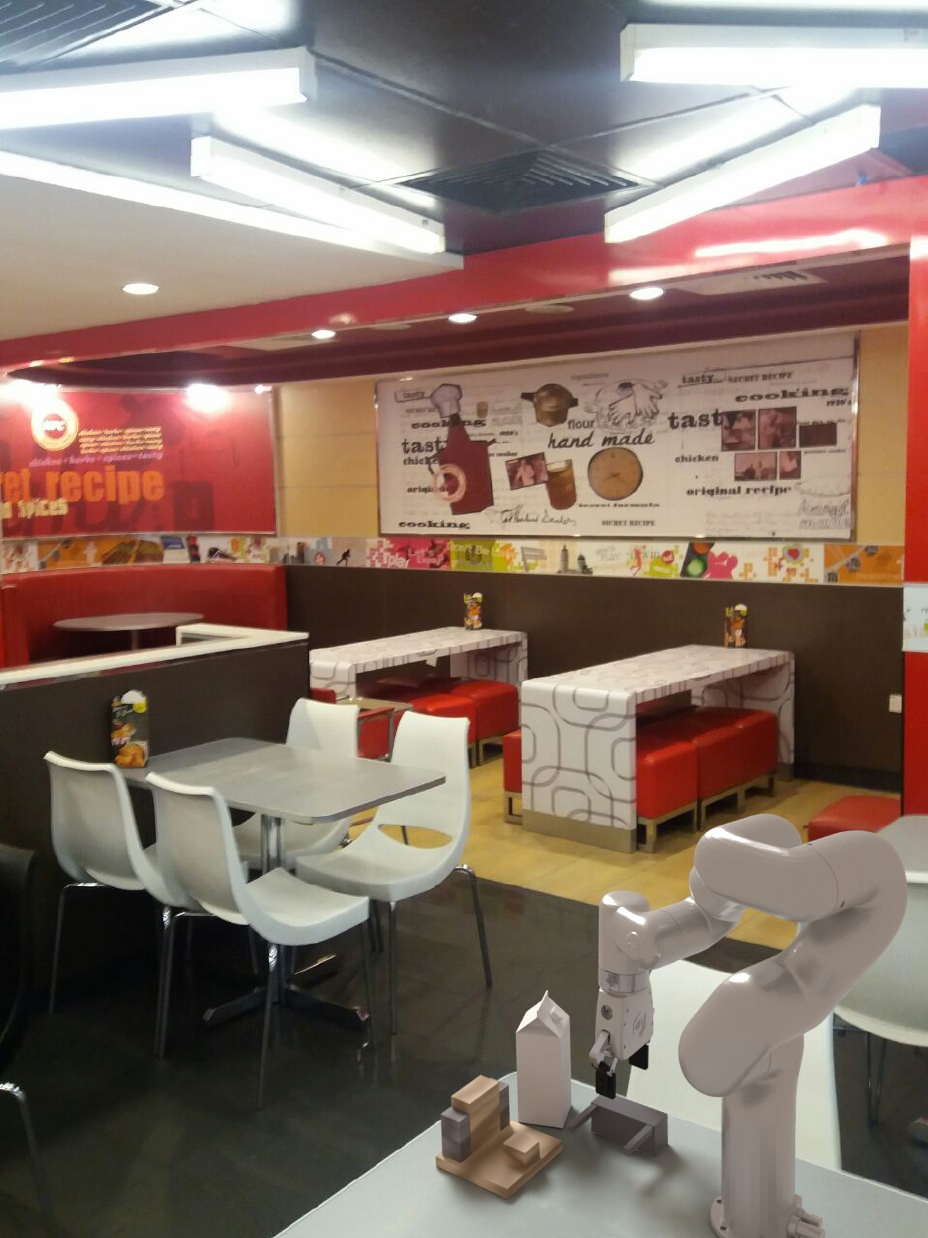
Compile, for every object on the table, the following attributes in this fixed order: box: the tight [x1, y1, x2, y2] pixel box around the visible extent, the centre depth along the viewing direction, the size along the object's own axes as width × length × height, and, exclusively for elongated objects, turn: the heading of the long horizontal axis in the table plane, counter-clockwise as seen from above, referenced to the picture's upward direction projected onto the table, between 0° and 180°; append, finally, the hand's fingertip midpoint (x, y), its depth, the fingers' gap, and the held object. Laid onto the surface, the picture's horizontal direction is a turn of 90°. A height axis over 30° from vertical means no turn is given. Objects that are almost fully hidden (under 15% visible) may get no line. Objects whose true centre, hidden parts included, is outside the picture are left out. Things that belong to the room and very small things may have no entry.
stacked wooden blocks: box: [435, 1074, 563, 1200], centre depth 167 cm, size 13×14×10 cm
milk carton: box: [515, 989, 572, 1129], centre depth 177 cm, size 7×7×19 cm
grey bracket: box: [566, 1094, 669, 1158], centre depth 168 cm, size 11×11×5 cm
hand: (622, 1081), depth 170 cm, fingers open, 9 cm apart
